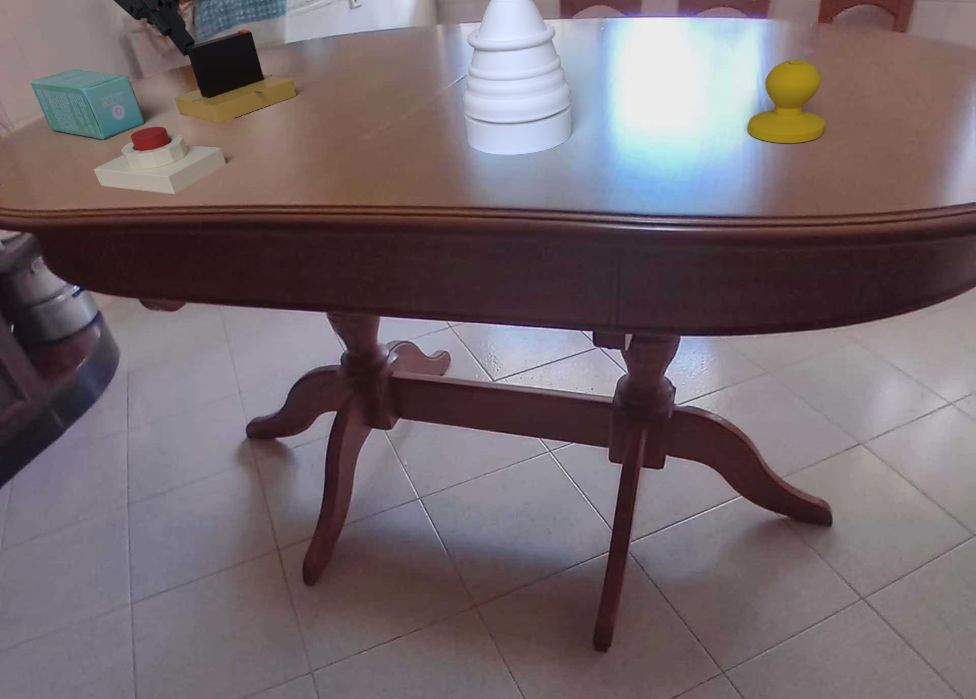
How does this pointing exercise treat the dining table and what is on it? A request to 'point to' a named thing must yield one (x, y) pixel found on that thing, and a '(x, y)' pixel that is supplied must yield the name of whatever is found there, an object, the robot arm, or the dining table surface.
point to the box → (88, 103)
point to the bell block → (161, 167)
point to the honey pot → (515, 83)
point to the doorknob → (789, 105)
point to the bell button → (150, 138)
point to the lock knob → (225, 63)
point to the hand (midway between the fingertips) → (189, 48)
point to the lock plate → (236, 100)
